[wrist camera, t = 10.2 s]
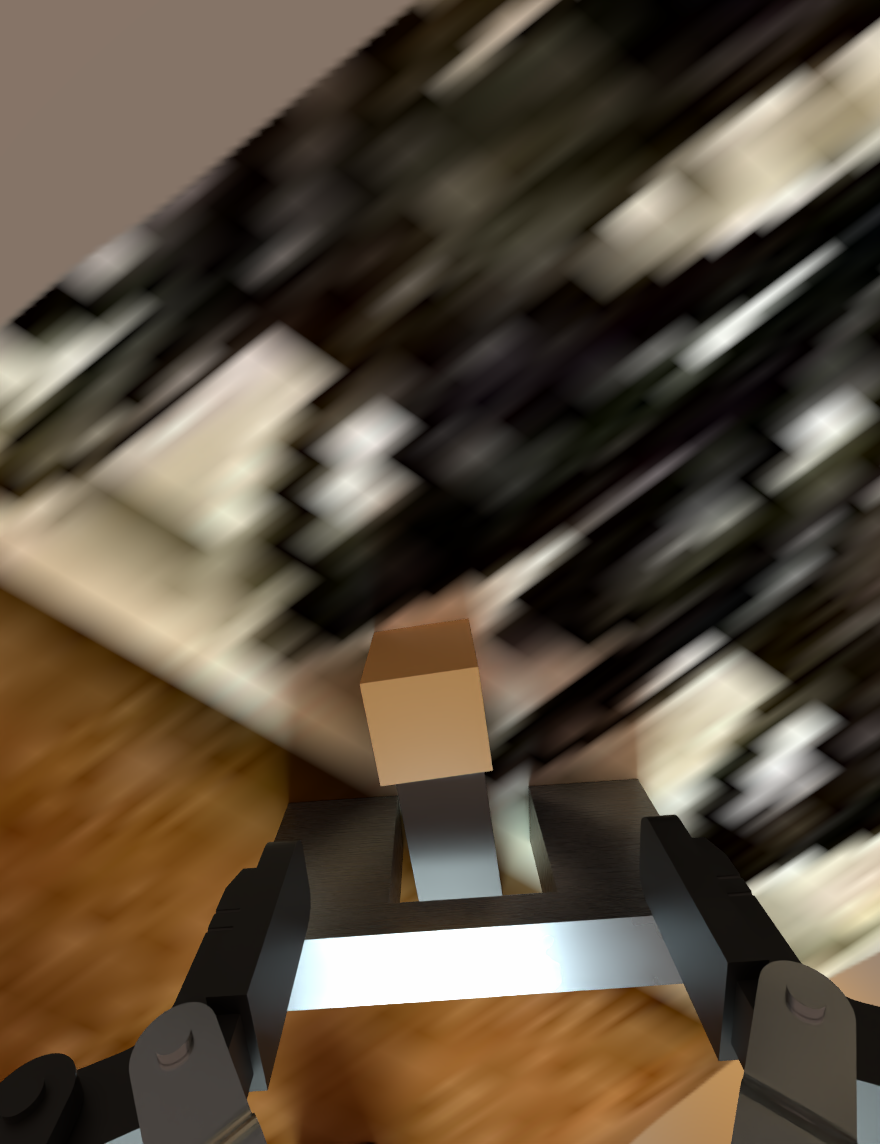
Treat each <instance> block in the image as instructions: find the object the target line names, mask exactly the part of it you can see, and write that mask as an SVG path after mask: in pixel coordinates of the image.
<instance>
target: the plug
mask: <svg viewBox="0 0 880 1144" xmlns="http://www.w3.org/2000/svg"><path fill="white" fill-rule="evenodd" d="M360 688H361V693H362V698H363V703H364V708H365V713H366V717H367V722H368V727H369V732H370V737H371V742H372V747H373V752H374V757H375V761H376V766H377V771H378V776H379V781H380V786H387V785H394V784H396V786H397V791H398V796H399V801H400V806H401V812H402V817H403V822H404V827H405V832H406V837H407V842H408V847H409V852H410V858H411V863H412V868H413V873H414V878H415V883H416V888H417V893H418V899H419V901H432V900H447V899H461V898H475V897H490V896H502V891H501V884H500V877H499V870H498V863H497V856H496V850H495V843H494V836H493V829H492V822H491V816H490V809H489V802H488V795H487V788H486V781H485V775H484V772H486V771H493V768H492V761H491V754H490V747H489V740H488V733H487V726H486V719H485V711H484V704H483V697H482V690H481V683H480V676H479V669H478V664H477V659H476V654H475V649H474V644H473V639H472V634H471V629H470V625H469V620H468V619H462V620H455V621H448V622H441V623H435V624H428V625H421V626H414V627H407V628H400V629H394V630H387V631H380V632H374V635H373V638H372V642H371V645H370V649H369V652H368V656H367V660H366V663H365V667H364V670H363V674H362V677H361V681H360Z"/></svg>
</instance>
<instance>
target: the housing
mask: <svg viewBox="0 0 880 1144" xmlns="http://www.w3.org/2000/svg"><path fill="white" fill-rule="evenodd" d="M649 816H660V815H659V814H658V812H657V810H656V809H655V807H654V805H653V804H652V802H651V801H650V799H649V797H648V796H647V794H646V792H645V791H644V789H643V787H642V786H641V784H640V782H639V781H638V779H632V780H617V781H603V782H588V783H574V784H560V785H545V786H531V787H529V817H530V843H531V847H532V851H533V855H534V859H535V863H536V867H537V871H538V875H539V879H540V884H541V888H542V892H543V893H533V894H518V895H504V896H490V897H475V898H461V899H447V900H432V901H418V902H403V903H400V894H401V878H402V862H403V843H402V833H401V823H400V813H399V803H398V796H387V797H372V798H358V799H343V800H329V801H315V802H300V803H289V804H288V806H287V809H286V812H285V814H284V817H283V820H282V822H281V825H280V827H279V830H278V833H277V835H276V838H275V840H274V842H281V841H295V840H300V841H301V842H302V845H303V851H304V857H305V863H306V869H307V875H308V881H309V887H310V895H311V909H310V918H309V924H308V928H307V932H306V936H305V940H304V944H303V948H302V952H301V956H300V960H299V965H298V969H297V973H296V977H295V981H294V985H293V989H292V993H291V997H290V1001H289V1005H288V1009H287V1011H295V1010H309V1009H323V1008H338V1007H352V1006H366V1005H381V1004H395V1003H409V1002H424V1001H438V1000H452V999H467V998H481V997H495V996H510V995H524V994H538V993H553V992H567V991H581V990H596V989H610V988H624V987H639V986H653V985H667V984H682V983H683V981H682V979H681V977H680V975H679V973H678V970H677V968H676V966H675V964H674V962H673V959H672V957H671V955H670V953H669V951H668V948H667V946H666V944H665V942H664V940H663V937H662V935H661V933H660V931H659V929H658V926H657V924H656V922H655V920H654V918H653V916H652V913H651V911H650V909H649V907H648V905H647V902H646V900H645V897H644V894H643V891H642V887H641V882H640V875H639V857H640V827H641V820H642V818H643V817H649Z"/></svg>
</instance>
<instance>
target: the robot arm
mask: <svg viewBox="0 0 880 1144" xmlns="http://www.w3.org/2000/svg"><path fill="white" fill-rule="evenodd" d="M639 875H640V882H641V887H642V891H643V894H644V897H645V900H646V902H647V905H648V907H649V909H650V911H651V913H652V916H653V918H654V920H655V922H656V924H657V926H658V929H659V931H660V933H661V935H662V937H663V940H664V942H665V944H666V946H667V948H668V951H669V953H670V955H671V957H672V959H673V962H674V964H675V966H676V968H677V970H678V973H679V975H680V977H681V979H682V981H683V984H684V986H685V988H686V990H687V992H688V994H689V997H690V999H691V1001H692V1003H693V1005H694V1008H695V1010H696V1012H697V1014H698V1016H699V1019H700V1021H701V1023H702V1025H703V1027H704V1030H705V1032H706V1034H707V1036H708V1038H709V1041H710V1043H711V1045H712V1047H713V1049H714V1052H715V1054H716V1056H717V1058H718V1060H719V1061H726V1060H739V1061H740V1063H741V1065H742V1067H743V1069H744V1076H743V1079H742V1081H741V1086H740V1092H739V1098H738V1104H737V1110H736V1117H735V1123H734V1129H733V1135H732V1142H731V1144H880V1007H878V1006H874V1005H870V1004H866V1003H862V1002H859V1001H855V1000H853V999H850V998H848V997H846V996H845V995H844V994H843V992H841V990H840V989H839V988H838V987H837V986H836V985H835V984H834V983H833V982H832V981H831V980H829V979H828V978H827V977H825V976H824V975H823V974H821V973H819V972H818V971H816V970H814V969H812V968H810V967H808V966H806V965H803V964H802V963H801V962H800V961H799V959H798V958H797V956H796V955H795V954H794V952H793V951H792V949H791V948H790V946H789V945H788V943H787V942H786V941H785V939H784V938H783V936H782V935H781V933H780V932H779V930H778V929H777V928H776V926H775V925H774V923H773V922H772V920H771V919H770V917H769V916H768V915H767V913H766V912H765V910H764V909H763V907H762V906H761V904H760V903H759V902H758V900H757V899H756V897H755V896H753V895H752V893H751V890H750V889H749V887H748V886H747V884H746V883H745V881H744V880H743V879H742V878H740V874H739V873H738V871H737V870H736V868H735V867H734V866H733V864H732V863H731V861H730V860H729V858H728V857H727V855H726V854H725V853H724V852H722V851H721V850H720V849H719V848H717V847H716V846H715V845H713V844H712V843H711V842H710V841H708V840H707V839H706V838H705V837H702V838H692V837H691V836H690V834H689V833H688V831H687V830H686V828H685V827H684V825H683V823H682V822H681V820H680V819H679V818H678V817H677V816H676V815H663V816H649V817H643V818H642V820H641V827H640V857H639ZM310 909H311V895H310V887H309V881H308V875H307V869H306V863H305V857H304V851H303V845H302V842H301V841H300V840H295V841H281V842H269V843H267V844H266V846H265V848H264V851H263V853H262V856H261V858H260V861H259V863H258V866H257V868H247V869H242V871H241V872H240V873H239V874H238V875H237V876H236V877H235V878H234V880H233V881H232V882H231V883H230V884H229V885H228V886H227V887H226V889H225V891H224V893H223V895H222V898H221V900H220V902H219V904H218V907H217V909H216V914H214V916H213V918H212V920H211V922H210V925H209V927H208V932H207V933H206V934H205V936H204V938H203V940H202V943H201V945H200V947H199V949H198V952H197V954H196V956H195V958H194V961H193V963H192V965H191V967H190V970H189V972H188V974H187V976H186V979H185V981H184V983H183V985H182V988H181V990H180V992H179V994H178V997H177V999H176V1001H175V1003H174V1005H173V1007H172V1008H171V1009H169V1010H168V1011H166V1012H164V1013H163V1014H162V1015H160V1016H159V1017H158V1018H156V1019H155V1020H154V1021H153V1022H152V1023H151V1024H150V1025H149V1026H148V1027H147V1028H146V1029H145V1031H144V1032H143V1033H142V1035H141V1036H140V1037H139V1039H138V1041H137V1043H136V1044H135V1046H133V1047H131V1048H130V1049H128V1050H126V1051H123V1052H121V1053H119V1054H116V1055H114V1056H111V1057H109V1058H106V1059H104V1060H101V1061H99V1062H96V1063H94V1064H91V1065H89V1066H86V1067H84V1068H81V1069H79V1070H76V1067H75V1064H74V1062H73V1060H72V1059H71V1058H70V1057H69V1056H67V1055H65V1054H59V1053H55V1054H48V1055H43V1056H41V1057H38V1058H35V1059H33V1060H31V1061H29V1062H27V1063H26V1064H24V1065H23V1066H21V1067H19V1068H18V1069H16V1070H15V1071H14V1072H12V1073H11V1074H10V1075H9V1076H8V1077H6V1078H5V1079H4V1080H3V1081H2V1082H1V1083H0V1144H267V1143H266V1140H265V1138H264V1135H263V1132H262V1130H261V1127H260V1124H259V1122H258V1120H257V1117H256V1115H255V1114H254V1113H253V1114H252V1112H251V1110H250V1108H249V1105H248V1102H247V1097H248V1093H249V1092H251V1091H265V1090H268V1086H269V1082H270V1078H271V1074H272V1070H273V1066H274V1062H275V1058H276V1054H277V1050H278V1046H279V1042H280V1038H281V1034H282V1030H283V1025H284V1021H285V1017H286V1013H287V1009H288V1005H289V1001H290V997H291V993H292V989H293V985H294V981H295V977H296V973H297V969H298V965H299V960H300V956H301V952H302V948H303V944H304V940H305V936H306V932H307V928H308V924H309V918H310Z"/></svg>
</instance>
